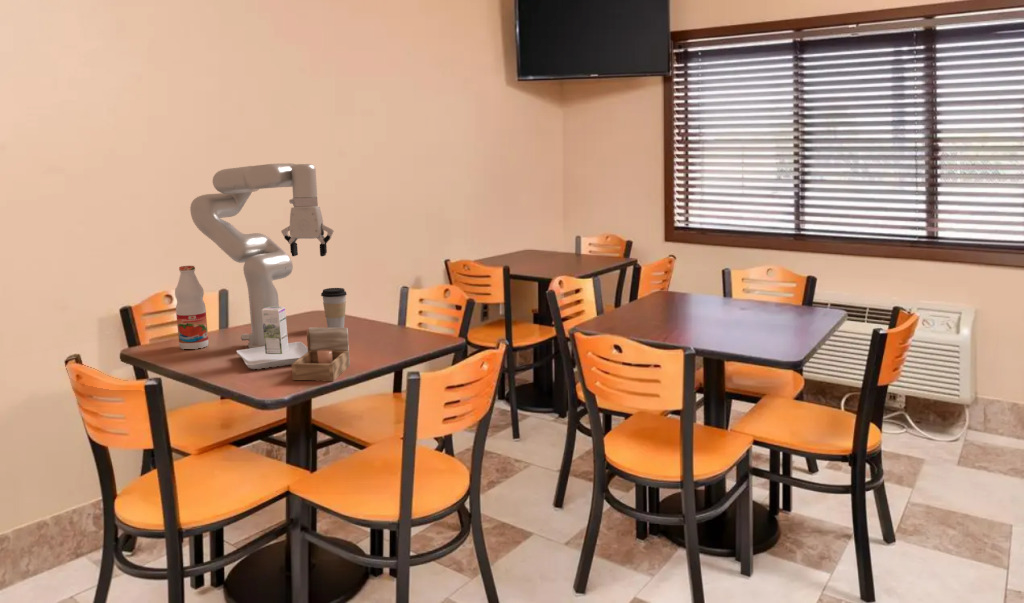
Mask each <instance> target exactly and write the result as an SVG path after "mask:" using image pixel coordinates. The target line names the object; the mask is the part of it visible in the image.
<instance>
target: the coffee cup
mask: <svg viewBox="0 0 1024 603" xmlns="http://www.w3.org/2000/svg"><path fill="white" fill-rule="evenodd" d="M320 296H321V297H322V300H323V302H322V303H323V309H324V316H325V320H326V325H327V326H326V327H327V328H345V317H346V303H347V302H346V296H347V291H346V290H345V288H342V287H329V288H324V289H323V290H322V292H321V293H320Z"/></svg>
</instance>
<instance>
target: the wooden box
mask: <svg viewBox="0 0 1024 603" xmlns="http://www.w3.org/2000/svg"><path fill="white" fill-rule="evenodd" d="M306 342H307V343H306V344H307V346H306V347H307V348H308V352H307V353H306V354H305V355H303V356H302V357H301V358H299V359H298V360H297V361H295V362H294V363H293V364H292V365H291V372H292V381H293V380H325V381H324V382H334V381H336V380H337V378H339V377H340V376H341V375H342V374H343V373H344V372H345V371H346V370H347V369H348V368H349V367H350V366H351V362H350V346H349V328H348V327H344V328H328V327H308V331H306ZM322 349H331V350H332V356H333V362H331V363H330V364H318V356H317V351H318V350H322ZM340 374H341V375H340ZM339 375H340V376H339Z"/></svg>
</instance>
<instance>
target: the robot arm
mask: <svg viewBox="0 0 1024 603" xmlns="http://www.w3.org/2000/svg"><path fill="white" fill-rule="evenodd" d="M212 185H213V187H214V189H215V190H216V191H217V192H218V193H207V194H202V195H199V196H196V197H195V198H193V200H192V202H191V203H190V207H189V208H190V210H189V211H190V216H191V219H192V222H193V224H194V225H195V227H196V228H197V229H198V230H199V231H200V232H201V234H203V235H204V236H206V237H207V239H210V240H211V241H212V242H213V243H215V245H217V247H219V248H220V250H222V251H223V252H224V253H225V254H226V255H227V256H228V257H230V259H231V260H232V261H234V262H236V263H241V264H243V267H242V268H243V270H242V271H243V276H244V278H245V283H246V288H247V292H248V293H247V294H248V303H249V304H248V305H249V314H250V329H251V332H250V333H242V334H240V339H241V341H248V343H247V348H248V349H250V348H256V347H263V346H265V343H264V332H263V322H262V312H261V311H262V309H264V308H266V307H280V303H279V302H280V301H279V294H278V290H277V288H276V286H275V285H274V283H273V281H276V280H282V279H284V278H287V277H289V276H290V275H291V274H292V271H293V270H294V265H293V261H292V259H291V257H290V256H289V254H288V253H287V252H286V251H284V250H283V248H282V247H280V246H279V245H278V244H277V243H276V242H275V241H273V240H272V239H271V238H270V237H269V236H267V235H265V234H264V233H260V232H259V233H258V232H257V233H254V232H253V233H243V232H241V231H240V230H239V229H237V228H236V227H235V226H234V225H233V224H232V223H230V222H228V221H226V220H224V218H232V217H235V216H237V215H238V214H239V213H240V212H241V211H242V209H243V207H244V206H245V205H246V203H247V201H248V199H249V198H250V196H251V195H252V193H253V192H254V193H256V192H257V191H259V190H262V189H264V190H265V189H274V188H275V189H276V188H290V187H291V188H292V198H291V199H289V204H292V206H293V207H290V213H289V226H287V227H285V228H283V229H282V230H281V234H282V236H283V237H284V240H286V241H287V242H288V244H289V248H290V254H291V256H292V257H296V256H298V255H299V253H298V243H297V241H298V240H300V239H301V240H302V239H305V240H306V239H309V240H310V239H317V240H318V241H319V242H320V244H319V255H320V257H325V256H327V254H328V252H327V250H328V249H327V248H328V247H327V244H328V242H329V241H330V240H331V238H332V236H333V235H334V229H333V228H330V227H329V226H327V225H325V224H324V220H323V214H322V211H321V207H320V206H318V204H319V201H318V190H317V189H318V187H317V186H318V185H317V170H316V166H315V165H314V164H312V163H298V164H297V163H268V164H267V163H266V164H259V165H258V164H257V165H247V166H239V167H233V168H232V167H230V168H229V167H228V168H224V169H221V170H218V171H217V172H216V173H215V174H214V175H213V177H212ZM325 232H326V236H325Z"/></svg>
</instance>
